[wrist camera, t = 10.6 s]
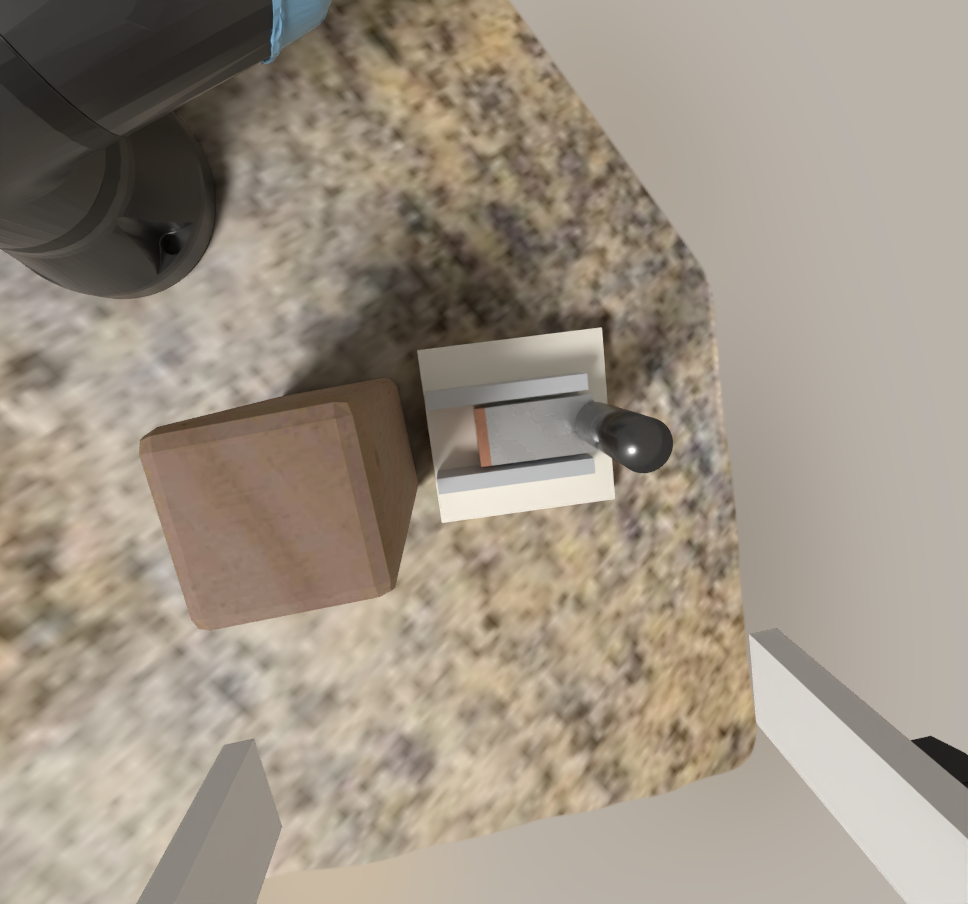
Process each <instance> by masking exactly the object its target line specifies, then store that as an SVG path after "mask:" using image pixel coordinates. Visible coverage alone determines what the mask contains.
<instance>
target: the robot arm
mask: <svg viewBox="0 0 968 904" xmlns="http://www.w3.org/2000/svg"><path fill="white" fill-rule="evenodd" d="M331 3H332V0H0V249H1V250H3V251H4V252H6V253H8V254H9V255H11V256H12V257H14V258H15V259H17V260H18V261H20V262H21V263H22V264H24V265H25V266H26V267H28V268H29V269H30V270H32V271H33V272H35V273H36V274H38V275H39V276H41V277H43V278H44V279H46V280H48V281H50V282H52V283H54V284H56V285H59V286H61V287H64V288H66V289H69V290H72V291H75V292H79V293H83V294H88V295H94V296H100V297H106V298H114V299H132V298H140V297H145V296H149V295H152V294H155V293H158V292H161V291H163V290H165V289H167V288H169V287H171V286H172V285H174V284H176V283H177V282H178V281H180V280H181V279H182V278H183V277H185V276H186V275H187V274H188V273H189V272H190V271H191V270H192V269H193V267H194V266H195V265H196V264H197V262H198V261H199V260H200V258H201V257H202V255H203V253H204V251H205V249H206V247H207V245H208V243H209V240H210V237H211V234H212V231H213V226H214V221H215V212H216V196H215V187H214V182H213V177H212V173H211V170H210V167H209V164H208V161H207V159H206V156H205V154H204V152H203V150H202V148H201V146H200V144H199V143H198V141H197V139H196V138H195V136H194V135H193V133H192V132H191V130H190V129H189V128H188V126H187V125H186V124H185V123H184V122H183V121H182V119H181V118H180V117H179V116H178V115H177V114H176V113H175V112H174V110H175V109H177V108H179V107H181V106H182V105H184V104H186V103H188V102H190V101H191V100H193V99H195V98H197V97H198V96H200V95H202V94H204V93H206V92H207V91H209V90H211V89H213V88H215V87H216V86H218V85H220V84H222V83H223V82H225V81H227V80H229V79H231V78H232V77H234V76H236V75H238V74H239V73H241V72H243V71H245V70H247V69H248V68H250V67H252V66H254V65H256V64H257V63H259V62H261V63H262V64H269V63H271V62H273V61H274V60H275V58H276V57H277V56H278V55H279V54H280V51H281V50H282V49H284V48H285V47H287V46H288V45H290V44H291V43H293V42H295V41H296V40H298V39H299V38H301V37H302V36H304V35H306V34H307V33H309V32H310V31H312V30H313V29H315V28H316V27H318V26H319V25H320V24H321V23H322V22H323V20H324V19H325V17H326V16H327V13H328V10H329V7H330V4H331ZM749 638H750V650H751V662H752V675H753V688H754V700H755V712H756V723H757V724H758V726H759V727H760V728H761V729H762V730H763V732H764V733H765V734H766V735H767V736H768V738H770V740H771V741H772V742H773V744H774V745H775V746H776V747H777V748H778V749H779V751H780V752H781V753H782V754H783V755H784V757H785V758H786V759H787V760H788V762H789V763H790V764H791V765H792V766H793V768H794V769H795V770H796V771H797V772H798V774H799V775H800V776H801V777H802V778H803V780H804V781H805V782H806V783H807V784H808V785H809V787H810V788H811V789H812V790H813V792H814V793H815V794H816V795H817V796H818V798H819V799H820V800H821V801H822V802H823V804H824V805H825V806H826V807H827V808H828V810H829V811H830V812H831V813H832V814H833V815H834V817H835V818H836V819H837V820H838V821H839V822H840V824H841V825H842V826H843V828H844V829H845V830H846V831H847V832H848V833H849V835H850V836H851V837H852V838H853V840H854V841H855V842H856V843H857V844H858V846H859V847H860V848H861V849H862V850H863V851H864V853H865V854H866V855H867V856H868V858H869V859H870V860H871V861H872V862H873V864H874V865H875V866H876V867H877V868H878V870H880V872H881V873H882V874H883V876H884V877H885V878H886V879H887V880H888V882H889V883H890V884H891V885H892V886H893V888H895V890H896V891H897V892H898V893H899V895H900V896H901V897H902V898H903V900H904V901H905V902H906V903H907V904H968V755H967V754H966V753H964V752H962V751H960V750H958V749H956V748H954V747H952V746H950V745H948V744H946V743H944V742H942V741H940V740H938V739H936V738H934V737H932V736H928V737H924V738H919V739H915V740H909V739H908V738H907V737H906V736H904V735H903V734H902V733H901V732H900V731H898V730H897V729H896V728H895V727H894V726H892V725H891V724H890V723H889V722H888V721H887V720H885V719H884V718H883V717H882V716H881V715H879V714H878V713H877V712H876V711H875V710H873V709H872V708H871V707H870V706H869V705H867V704H866V703H865V702H864V701H863V700H861V699H860V698H859V697H858V696H857V695H856V694H854V693H853V692H852V691H851V690H850V689H849V688H847V687H846V686H845V685H844V684H842V683H841V682H840V681H839V680H838V679H836V678H835V677H834V676H833V675H832V674H831V673H830V672H828V671H827V670H826V669H825V668H824V667H822V666H821V665H820V664H819V663H818V662H817V661H815V660H814V659H813V658H812V657H811V656H809V655H808V654H807V653H806V652H805V651H803V650H802V649H801V648H800V647H799V646H798V645H796V644H795V643H794V642H793V641H792V640H790V639H789V638H788V637H787V636H786V635H784V634H783V633H782V632H781V631H780V630H778V629H777V628H776V629H771V630H766V631H761V632H756V633H752V634H749ZM281 828H282V825H281V822H280V819H279V816H278V812H277V809H276V806H275V803H274V800H273V797H272V794H271V790H270V787H269V784H268V781H267V778H266V775H265V772H264V768H263V765H262V762H261V759H260V756H259V753H258V750H257V746H256V743H255V740H254V739H250V740H245V741H241V742H236V743H231V744H226V745H224V746H223V748H222V749H221V751H220V753H219V755H218V757H217V759H216V760H215V762H214V764H213V766H212V768H211V769H210V771H209V773H208V775H207V777H206V779H205V780H204V782H203V784H202V786H201V788H200V789H199V791H198V793H197V795H196V797H195V798H194V800H193V802H192V804H191V806H190V808H189V809H188V811H187V813H186V815H185V817H184V818H183V820H182V822H181V824H180V826H179V828H178V829H177V831H176V833H175V835H174V837H173V838H172V840H171V842H170V844H169V846H168V847H167V849H166V851H165V853H164V855H163V857H162V858H161V860H160V862H159V864H158V866H157V867H156V869H155V871H154V873H153V875H152V877H151V878H150V880H149V882H148V884H147V886H146V887H145V889H144V891H143V893H142V895H141V896H140V898H139V900H138V902H137V904H256V902H257V899H258V896H259V893H260V890H261V887H262V884H263V882H264V879H265V876H266V873H267V870H268V867H269V864H270V861H271V858H272V855H273V852H274V849H275V846H276V843H277V840H278V837H279V834H280V831H281Z"/></svg>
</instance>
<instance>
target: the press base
mask: <svg viewBox="0 0 968 904" xmlns="http://www.w3.org/2000/svg"><path fill="white" fill-rule="evenodd" d="M417 353H418V360H419V367H420V374H421V381H422V388H423V395H424V402H425V409H426V416H427V423H428V430H429V437H430V444H431V450H432V457H433V464H434V471H435V478H436V485H437V492H438V499H439V506H440V513H441V520H442V523H445V522H452V521H459V520H466V519H473V518H481V517H488V516H495V515H502V514H509V513H517V512H524V511H531V510H538V509H545V508H553V507H560V506H567V505H574V504H581V503H589V502H596V501H603V500H610V499H615V492H614V479H613V466H612V458H611V457H609V456H608V455H606V454H604V453H603V452H601V451H600V450H598V451H597V452H590V453H583V454H575V455H568V456H560V457H553V458H545V459H538V460H531V461H523V462H516V463H508V464H501V465H493V466H486V467H481V464H480V461H479V454H478V446H477V438H476V430H475V422H474V414H473V406H479V405H486V404H494V403H502V402H510V401H517V400H525V399H533V398H541V397H548V396H556V395H564V394H572V393H579V392H588V393H592V394H594V402H602V403H606V404H608V401H607V388H606V375H605V362H604V349H603V336H602V327H601V328H593V329H584V330H576V331H568V332H560V333H552V334H544V335H536V336H528V337H520V338H512V339H504V340H495V341H487V342H479V343H471V344H463V345H455V346H447V347H439V348H431V349H423V350H417Z"/></svg>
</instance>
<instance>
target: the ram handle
mask: <svg viewBox="0 0 968 904" xmlns="http://www.w3.org/2000/svg"><path fill="white" fill-rule="evenodd" d="M473 414H474V422H475V430H476V438H477V446H478V454H479V461H480V464H481V467H486V466H493V465H501V464H508V463H516V462H523V461H531V460H538V459H545V458H553V457H560V456H568V455H575V454H583V453H590V452H597V451H598V450H600V451H601V452H603V453H604V454H606V455H608V456H609V457H611V458H612V459H614V460H616V461H617V462H619V463H620V464H622V465H624V466H625V467H627V468H628V469H630V470H632V471H634V472H638V473H649V472H652V471H655V470H657V469H659V468H660V467H662V466H663V465H664V464H665V463H666V461H667V460H668V459H669V457H670V455H671V452H672V448H673V439H672V435H671V432H670V430H669V429H668V427H667V426H666V425H665V424H664V423H663V422H661V421H659V420H658V419H655V418H652V417H648V416H645V415H642V414H638V413H635V412H632V411H629V410H625V409H622V408H619V407H615V406H612V405H609V404H606V403H602V402H594V394H592V393H588V392H579V393H572V394H564V395H556V396H548V397H541V398H533V399H525V400H517V401H510V402H502V403H494V404H486V405H479V406H473Z"/></svg>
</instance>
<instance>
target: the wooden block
mask: <svg viewBox="0 0 968 904" xmlns="http://www.w3.org/2000/svg"><path fill="white" fill-rule="evenodd" d="M139 455H140V459H141V462H142V465H143V468H144V471H145V474H146V478H147V481H148V484H149V487H150V490H151V493H152V497H153V500H154V503H155V506H156V509H157V513H158V516H159V519H160V522H161V525H162V528H163V532H164V535H165V538H166V541H167V544H168V548H169V551H170V554H171V557H172V560H173V563H174V567H175V570H176V573H177V576H178V579H179V583H180V586H181V589H182V592H183V595H184V598H185V602H186V605H187V608H188V611H189V614H190V618H191V620H192V621H193V623H194V624H195V625H196V626H197V627H198V629H203V630H215V629H220V628H225V627H230V626H235V625H240V624H245V623H250V622H255V621H261V620H266V619H271V618H276V617H281V616H286V615H291V614H296V613H301V612H306V611H311V610H316V609H321V608H326V607H331V606H336V605H341V604H346V603H351V602H356V601H362V600H367V599H372V598H377V597H380V596H383V595H384V594H386V593H388V592H390V591H391V590H393V589H394V588H395V585H396V581H397V576H398V572H399V568H400V563H401V559H402V554H403V550H404V545H405V541H406V537H407V532H408V528H409V523H410V519H411V514H412V510H413V505H414V501H415V497H416V492H417V487H418V481H417V476H416V471H415V466H414V462H413V457H412V452H411V447H410V442H409V438H408V433H407V428H406V423H405V419H404V414H403V409H402V404H401V400H400V395H399V390H398V387H397V386H396V384H395V383H394V381H393V380H391V379H386V378H379V379H374V380H368V381H363V382H357V383H352V384H346V385H341V386H336V387H330V388H325V389H319V390H314V391H308V392H303V393H297V394H292V395H286V396H281V397H277V398H273V399H269V400H265V401H261V402H257V403H253V404H249V405H245V406H241V407H237V408H233V409H229V410H225V411H221V412H217V413H213V414H209V415H205V416H201V417H196V418H192V419H188V420H184V421H180V422H176V423H172V424H168V425H164V426H160V427H157V428H155V429H154V430H152V431H151V432H149V433H148V434H147V435H145V436H144V437H143V438H142V439H141V440H140V450H139Z"/></svg>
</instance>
